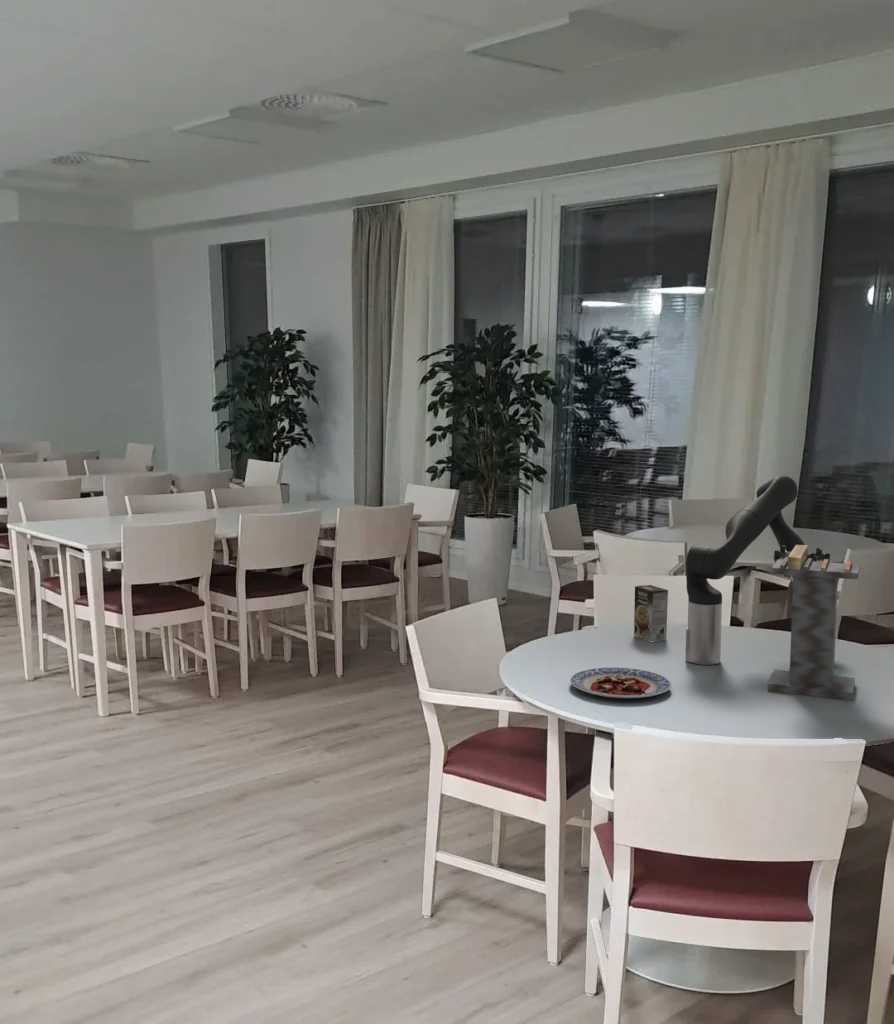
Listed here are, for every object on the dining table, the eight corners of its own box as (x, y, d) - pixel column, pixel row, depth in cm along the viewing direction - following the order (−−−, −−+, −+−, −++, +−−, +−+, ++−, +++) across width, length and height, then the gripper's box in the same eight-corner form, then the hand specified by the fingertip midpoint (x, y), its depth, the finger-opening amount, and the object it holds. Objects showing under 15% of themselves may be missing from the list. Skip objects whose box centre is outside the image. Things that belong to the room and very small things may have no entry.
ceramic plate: (672, 708, 232) (673, 696, 231) (566, 702, 237) (566, 690, 237) (669, 677, 257) (670, 667, 256) (573, 673, 262) (573, 662, 262)
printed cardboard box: (632, 636, 301) (633, 586, 299) (649, 633, 304) (650, 584, 302) (650, 642, 293) (651, 591, 291) (667, 640, 296) (668, 589, 294)
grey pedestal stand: (767, 690, 244) (771, 564, 240) (773, 676, 256) (778, 556, 253) (852, 700, 235) (858, 570, 232) (854, 685, 248) (860, 561, 244)
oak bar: (787, 568, 238) (787, 557, 238) (795, 555, 258) (796, 544, 258) (800, 569, 237) (800, 557, 237) (807, 556, 257) (807, 545, 257)
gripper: (778, 557, 272) (773, 535, 258) (832, 560, 266) (830, 538, 252) (776, 582, 269) (771, 561, 256) (830, 585, 263) (828, 564, 250)
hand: (800, 550), depth 254 cm, fingers open, 8 cm apart
